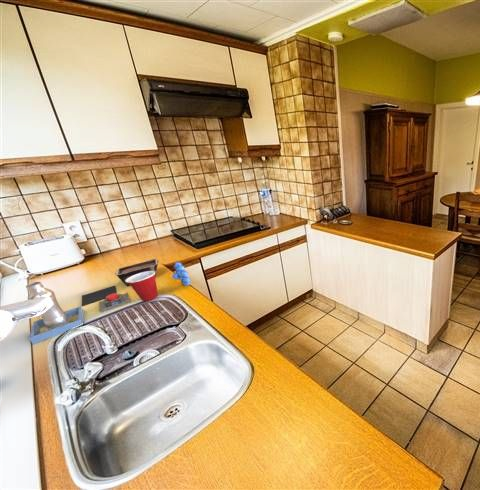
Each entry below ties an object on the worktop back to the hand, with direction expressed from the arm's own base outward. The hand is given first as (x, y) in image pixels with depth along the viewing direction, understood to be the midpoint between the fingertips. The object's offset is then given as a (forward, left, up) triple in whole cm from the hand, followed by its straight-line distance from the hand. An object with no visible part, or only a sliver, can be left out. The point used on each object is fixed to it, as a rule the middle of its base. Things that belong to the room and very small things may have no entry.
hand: (16, 302), depth 87 cm
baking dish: (+31, +38, -20) cm, 53 cm away
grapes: (+45, +12, -20) cm, 51 cm away
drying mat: (+14, +33, -20) cm, 41 cm away
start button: (+19, +18, -17) cm, 32 cm away
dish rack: (+2, +14, -20) cm, 25 cm away
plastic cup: (+31, +11, -20) cm, 39 cm away
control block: (+19, +18, -20) cm, 33 cm away
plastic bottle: (+2, +14, -20) cm, 25 cm away
